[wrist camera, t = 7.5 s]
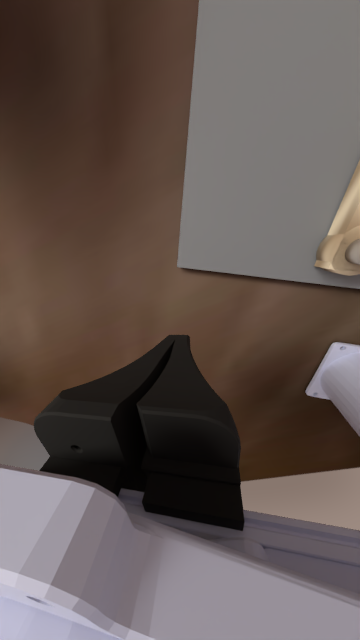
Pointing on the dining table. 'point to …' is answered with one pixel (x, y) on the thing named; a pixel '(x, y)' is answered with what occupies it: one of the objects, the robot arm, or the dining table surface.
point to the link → (343, 234)
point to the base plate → (270, 136)
